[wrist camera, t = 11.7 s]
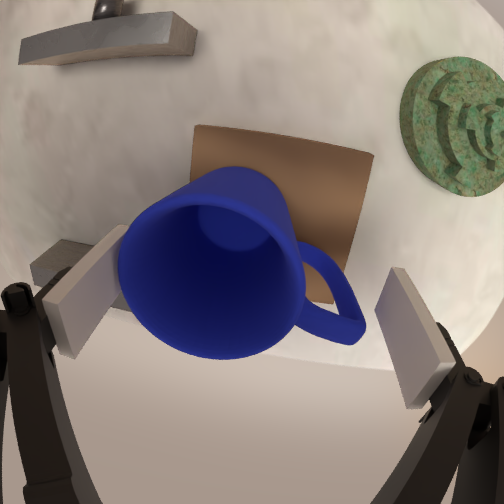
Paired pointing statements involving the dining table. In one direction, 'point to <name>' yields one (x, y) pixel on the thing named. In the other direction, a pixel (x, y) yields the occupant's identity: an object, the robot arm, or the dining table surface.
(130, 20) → the vise jaws
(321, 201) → the walnut board
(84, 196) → the dining table surface
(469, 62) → the decorative artifact
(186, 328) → the mug
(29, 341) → the robot arm
